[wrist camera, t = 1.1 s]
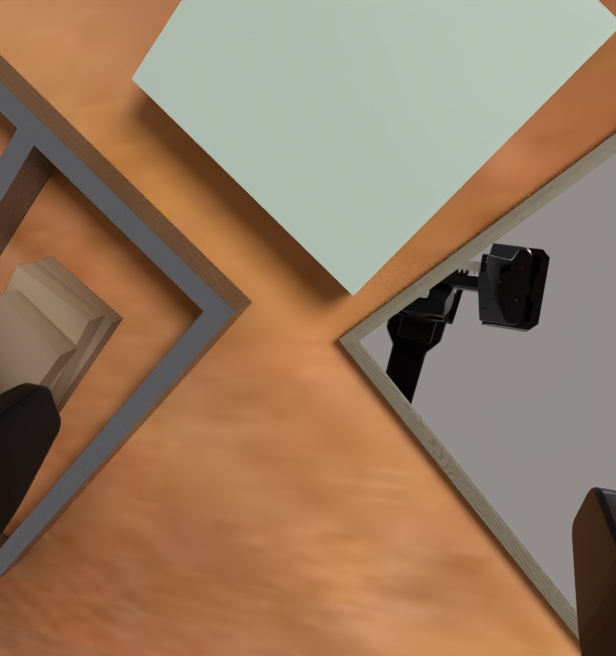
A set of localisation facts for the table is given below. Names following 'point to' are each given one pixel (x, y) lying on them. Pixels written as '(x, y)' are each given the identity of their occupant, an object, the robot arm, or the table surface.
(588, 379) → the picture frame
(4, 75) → the offcut tray
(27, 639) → the table surface
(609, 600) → the robot arm
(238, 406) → the table surface
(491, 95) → the green board
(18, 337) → the offcut stack
